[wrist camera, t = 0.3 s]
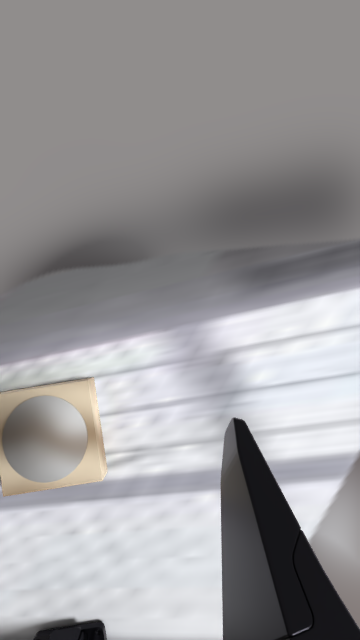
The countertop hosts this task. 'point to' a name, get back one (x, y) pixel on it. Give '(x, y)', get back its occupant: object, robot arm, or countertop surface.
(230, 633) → the robot arm
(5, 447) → the plinth
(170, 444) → the countertop surface
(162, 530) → the countertop surface
